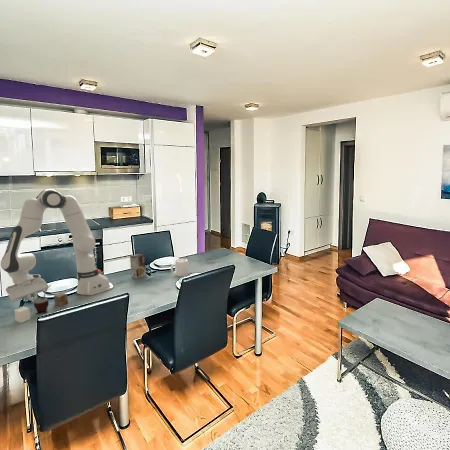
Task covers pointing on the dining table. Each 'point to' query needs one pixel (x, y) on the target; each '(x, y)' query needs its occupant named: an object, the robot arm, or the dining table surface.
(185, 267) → the mug
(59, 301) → the walnut block
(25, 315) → the off-white block
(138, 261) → the coffee box
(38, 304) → the mate gourd
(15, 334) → the dining table surface
